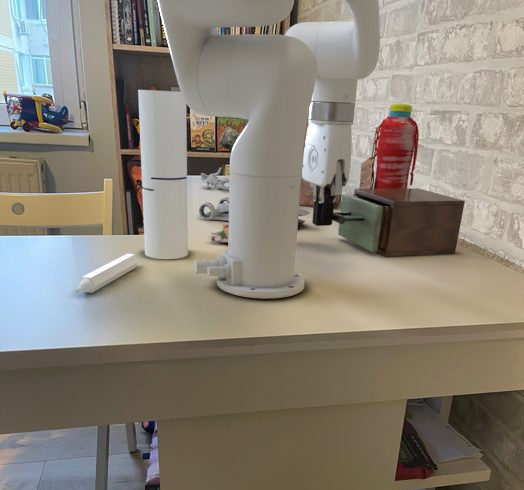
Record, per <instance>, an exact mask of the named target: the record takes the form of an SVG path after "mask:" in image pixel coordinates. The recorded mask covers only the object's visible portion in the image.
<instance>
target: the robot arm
mask: <svg viewBox="0 0 524 490" xmlns="http://www.w3.org/2000/svg"><path fill="white" fill-rule="evenodd" d="M344 2H345V3H346V5H347V6H348V8H349V10H350V13H351V15H352V19H353V20H343V21H342V20H341V21H340V20H339V21H335V20H332V21H330V20H329V21H328V20H327V21H304V22H303V21H302V22H298V23H295V24H294V25H292V26H290V27H289V29H287V30H286V32H285V33H284V34H276V33H275V34H273V33H271V34H270V33H269V34H267V33H259V34H258V33H254V34H253V33H243V34H219V33H218V29H217V28H259V27H267V26H273V25H276V24H279V23H282V22H283V21H284V20H285V19H287V18H288V16H289V15H290V13H291V12H292V11H293V7H294V4H295V0H157V5H158V9H159V13H160V18H161V21H162V25H163V29H164V33H165V37H166V40H167V46H168V49H169V52H170V56H171V60H172V65H173V69H174V73H175V77H176V80H177V84H178V87H179V90H180V91H179V92H181V93H182V96H183V98H184V100H185V102H186V106H187V107H188V108H190V110H192V111H193V112H194V113H196V114H198V115H202V116H207V117H218V118H236V119H242V120H243V119H249V121H248V123H247V125H246V127H245V128H244V130H243V129H242V131H241V132H240V136H239V137H238V139H237V140H236V142H235V144H234V146H233V148H232V152H231V151H230V155H229V179H230V183H228V185H229V186H228V187H229V190H228V198H229V221H228V224H229V236H228V242H227V243H228V244H227V245H228V246H227V250H222V251H221V252H222V253H221V256H216V258H215V259H207V258H206V259H194V262H193V269H194V270H193V271H194V273H195V275H199V274H200V275H201V274H207V277H208V278H211V277H216V285H217V287H218V288H219V289H220V290H222V291H224V292H226V293H228V294H231V295H234V296H237V297H243V298H251V299H263V300H265V299H267V300H268V299H270V300H271V299H282V298H289V297H291V296H295V295H298V294H299V293H301V292H302V291H303V290H304V289H305V283H306V282H305V278H304V277H303V276H302V275H301V274H299V273H297V272H295V270H296V258H297V257H296V256H297V255H296V254H297V244H298V243H297V242H298V228H299V224H298V219H299V216H298V215H299V207H300V206H299V200H300V186H301V171H302V178H303V179H304V180H305V181H306V182H309V183H310V186H311V187H312V188H313V200H314V201H316V202H314V207H312V208H313V210H312V224H313V225H315V226H317V227H325V226H326V227H328V226H332V225H333V212H334V210H335V209H334V203H335V201H336V196H338V195H341V194H343V188H344V187H345V186H346V185H347V184H348V183H349V179H350V173H351V163H352V162H351V160H352V139H353V138H352V136H353V135H352V134H353V132H352V126H354V122H355V121H354V120H355V110H356V100H357V90H358V82H359V81H358V80H362V79H366V78H368V77H369V76H371V74H373V72H374V71H375V69H376V67H377V64H378V62H379V56H380V50H381V49H380V48H381V29H380V28H381V27H380V25H381V24H380V4H379V3H380V2H379V0H344ZM318 101H322V102H318ZM340 102H344V103H340ZM308 114H309V121H308V123H309V126H308V130H307V135H306V141H305V149H304V157H303V146H304V138H305V130H306V124H307V119H308ZM302 157H303V167H302ZM330 183H332V184H330Z"/></svg>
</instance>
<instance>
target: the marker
mask: <svg viewBox="0 0 524 490" xmlns="http://www.w3.org/2000/svg"><path fill="white" fill-rule="evenodd" d="M139 262H140V260H139V259H138V257H137V256H136V254H133V253H125V254H123V255H122V256H119V257H117V258H115V259H114V260H112V261H110V262H108V263H106V264H104V265H102V266H100V267H99V268H96V269H95V270H93V271H90V272H89V273H87V274H85V275H83V276H81V278H80V280H79V282H78V287H77V288H76V290H75V293H87V294H93V293H94V292H96V291H98V290H100V289H102V288H103V287H105V286H107V285H109V284H110V283H112V282H114V281H116V280H117V279H119V278H121V277H122V276H124V275H125V274H127V273H130V272H131V271H133V270H134V269H136V268H137V266H138V264H139Z"/></svg>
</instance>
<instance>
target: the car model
mask: <svg viewBox="0 0 524 490" xmlns="http://www.w3.org/2000/svg"><path fill="white" fill-rule="evenodd" d="M206 207H207V208H208V209H209V210H210V211H207V212H206V213H205V208H206ZM310 213H311V212H310V211H309V210H307V209H305V208H302V207H300V206H299V215H298V217H304V216H307V215H310ZM198 214H199V216H200V217H201V218H202V219H203V220H205V221H212V220H213V221H224V222H225V221H226V222H229V197H227V196H225V197H222V198H221V199H219V202H218V204H217V205H216V208H215V206H214V204H213V203H211V202H208V201H207V202H203V203H202V204H200V206H199V207H198ZM304 223H306V220H305V219H301V218H298V225H303V224H304Z"/></svg>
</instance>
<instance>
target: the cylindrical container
mask: <svg viewBox="0 0 524 490" xmlns="http://www.w3.org/2000/svg"><path fill="white" fill-rule="evenodd" d="M137 93H138V94H137V96H138V117H139V118H138V119H139V140H140V141H139V143H140V168H141V187H142V188H141V189H142V212H143V213H142V214H143V217H142V218H143V239H144V255H145V256H146V257H148V258H151V259H158V260H177V259H183V258H185V257H187V256H188V255H189V244H188V240H189V239H188V237H189V233H188V141H187V140H188V139H187V134H188V132H187V128H188V127H187V104H186V102H185V100H184V98H183V96H182V93H181V91H173V90H155V89H152V90H151V89H138V90H137Z"/></svg>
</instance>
